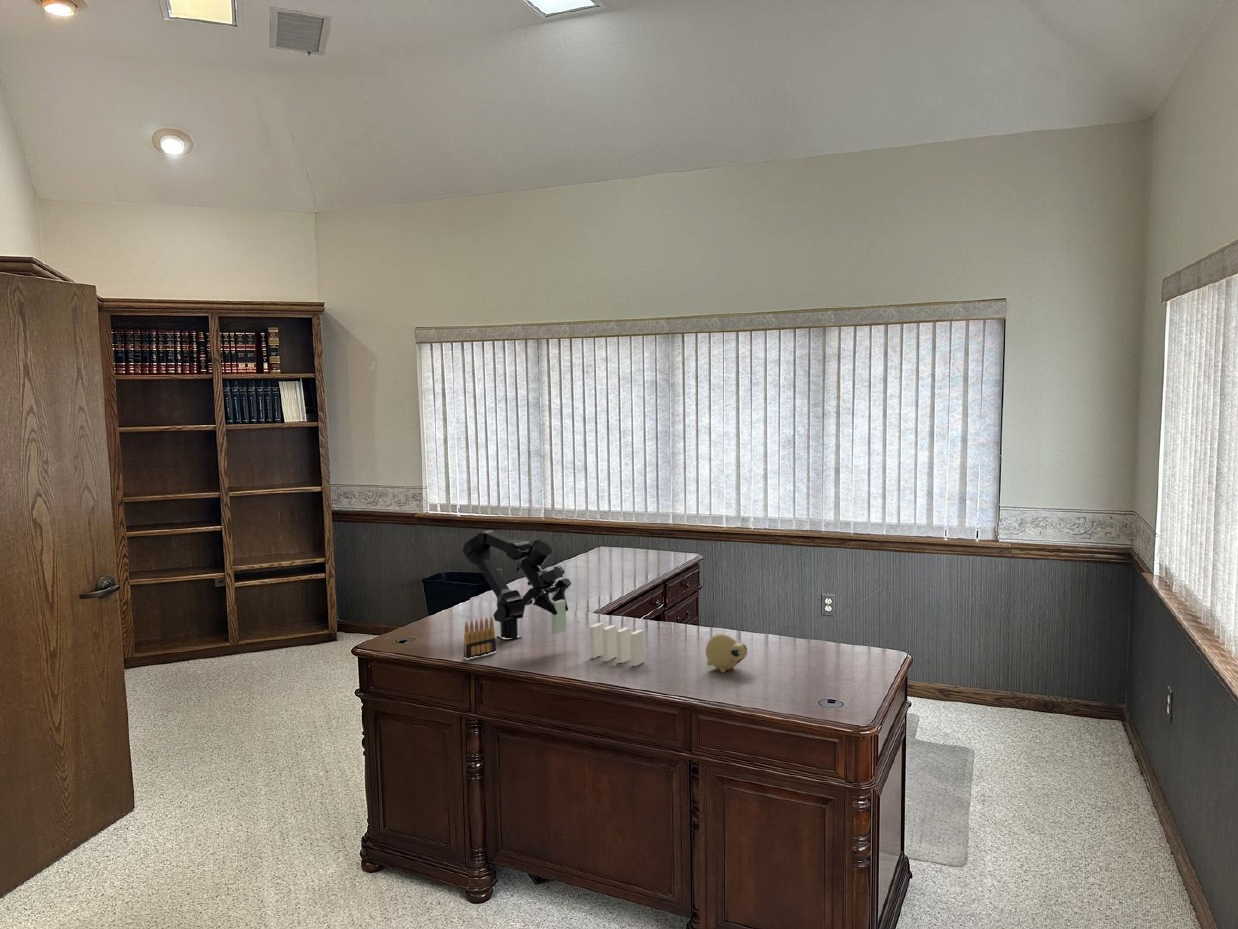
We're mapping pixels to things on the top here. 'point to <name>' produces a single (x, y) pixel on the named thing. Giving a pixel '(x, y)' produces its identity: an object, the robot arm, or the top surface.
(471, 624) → the ammunition clip
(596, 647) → the domino
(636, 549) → the top surface
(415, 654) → the top surface
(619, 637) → the domino
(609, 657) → the domino
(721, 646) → the beige round figure
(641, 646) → the domino
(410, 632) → the top surface
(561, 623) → the domino
